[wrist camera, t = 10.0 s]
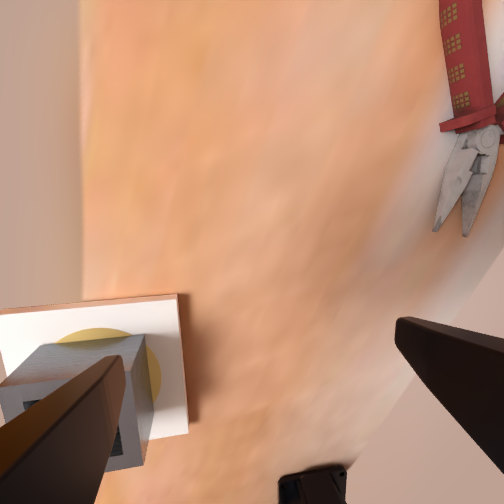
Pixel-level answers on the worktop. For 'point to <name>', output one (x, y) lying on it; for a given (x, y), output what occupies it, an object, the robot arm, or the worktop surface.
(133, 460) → the grey hollow square box
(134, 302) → the post base
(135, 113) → the worktop surface
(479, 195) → the pliers
